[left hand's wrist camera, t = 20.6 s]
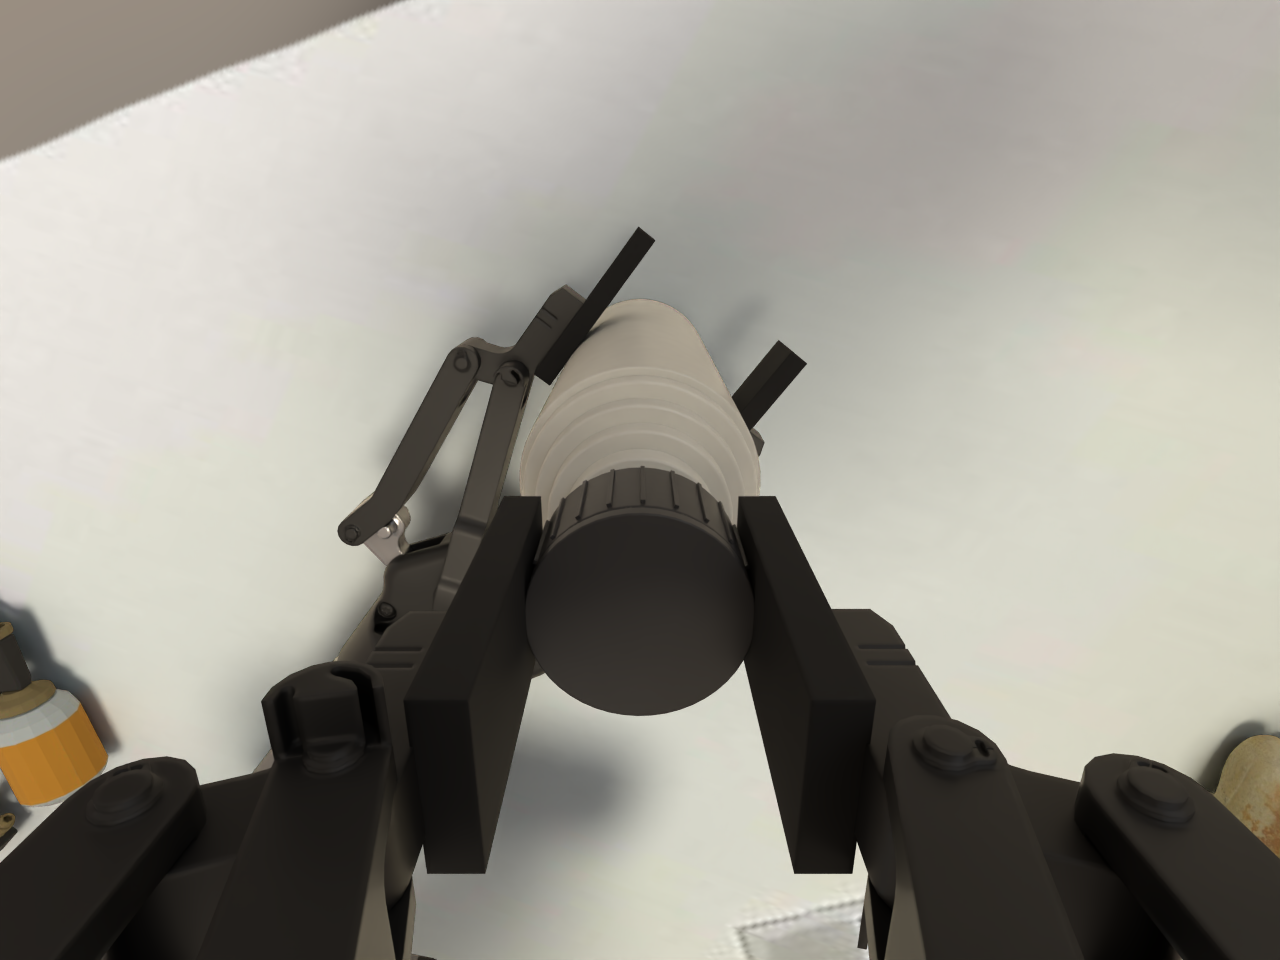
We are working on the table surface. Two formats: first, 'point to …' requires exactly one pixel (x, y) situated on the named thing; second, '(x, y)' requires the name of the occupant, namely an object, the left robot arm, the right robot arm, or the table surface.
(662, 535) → the cap
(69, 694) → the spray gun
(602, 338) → the bottle
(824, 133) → the table surface
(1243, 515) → the table surface
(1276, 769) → the sculpture
